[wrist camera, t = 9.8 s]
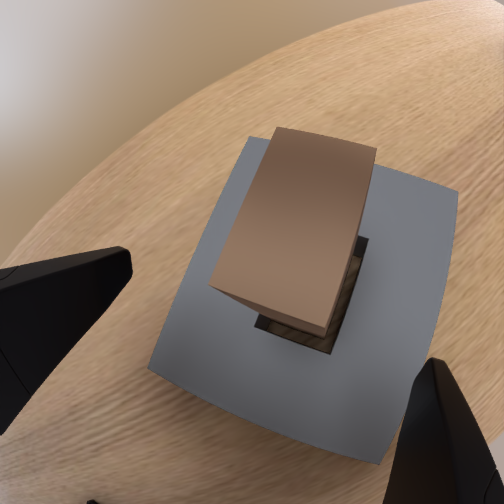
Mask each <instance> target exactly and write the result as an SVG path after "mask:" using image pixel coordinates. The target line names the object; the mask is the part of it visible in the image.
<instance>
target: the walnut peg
mask: <svg viewBox="0 0 504 504" xmlns="http://www.w3.org/2000/svg"><path fill="white" fill-rule="evenodd" d="M376 150H377V148H373V147H370V146H366V145H362V144H358V143H354V142H350V141H346V140H342V139H337V138H333V137H328V136H324V135H319V134H314V133H309V132H304V131H299V130H293V129H288V128H282V127H277V128H276V130H275V132H274V134H273V136H272V138H271V141H270V143H269V145H268V147H267V149H266V152H265V154H264V156H263V158H262V160H261V163H260V165H259V167H258V169H257V172H256V174H255V176H254V178H253V181H252V183H251V185H250V187H249V190H248V192H247V194H246V196H245V199H244V201H243V203H242V205H241V208H240V210H239V212H238V215H237V217H236V219H235V222H234V224H233V226H232V229H231V231H230V233H229V235H228V238H227V240H226V243H225V245H224V247H223V250H222V252H221V254H220V257H219V259H218V261H217V264H216V266H215V269H214V271H213V273H212V276H211V278H210V281H209V283H208V285H209V286H211V287H213V288H214V289H216V290H218V291H220V292H222V293H223V294H225V295H227V296H229V297H231V298H232V299H234V300H236V301H238V302H240V303H241V304H243V305H245V306H247V307H249V308H251V309H252V310H254V311H256V312H258V313H260V314H262V315H264V316H265V317H267V318H269V319H271V320H273V321H275V322H277V323H279V324H281V325H284V326H287V327H289V328H292V329H295V330H298V331H301V332H303V333H306V334H309V335H312V336H315V337H318V338H321V339H323V340H324V339H325V336H326V334H327V331H328V328H329V326H330V323H331V320H332V317H333V314H334V312H335V309H336V306H337V303H338V300H339V297H340V294H341V291H342V288H343V285H344V282H345V279H346V276H347V272H348V269H349V266H350V263H351V259H352V255H353V252H354V248H355V244H356V240H357V237H358V233H359V229H360V225H361V221H362V216H363V212H364V208H365V204H366V199H367V195H368V190H369V186H370V181H371V176H372V171H373V166H374V161H375V156H376Z"/></svg>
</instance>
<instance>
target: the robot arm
mask: <svg viewBox="0 0 504 504" xmlns="http://www.w3.org/2000/svg"><path fill="white" fill-rule="evenodd" d="M132 275H133V269H132V262H131V254H130V252H129V250H127V249H125V248H123V247H120V246H116V247H110V248H105V249H100V250H94V251H89V252H84V253H79V254H73V255H68V256H63V257H58V258H53V259H48V260H43V261H38V262H34V263H29V264H24V265H20V266H14V267H10V268H5V269H0V436H1V435H2V434H3V433H4V432H5V431H6V430H7V428H8V427H9V426H10V424H11V423H12V422H13V420H14V419H15V418H16V416H17V415H18V414H19V412H20V411H21V410H22V409H23V407H24V406H25V405H26V403H27V402H28V401H29V400H30V398H31V397H32V396H33V394H34V393H35V392H36V391H37V389H38V388H39V387H40V386H41V385H42V383H43V382H44V381H45V380H46V378H47V377H48V376H49V375H50V374H51V372H52V371H53V370H54V369H55V368H56V367H57V365H58V364H59V363H60V362H61V361H62V360H63V358H64V357H65V356H66V355H67V354H68V353H69V351H70V350H71V349H72V348H73V347H74V346H75V345H76V343H77V342H78V341H79V340H80V339H81V338H82V337H83V336H84V334H85V333H86V332H87V331H88V330H89V329H90V328H91V327H92V326H93V325H94V323H95V322H96V321H97V320H98V319H99V318H100V317H101V316H102V315H103V314H104V312H105V311H106V310H107V309H108V307H109V306H110V305H111V304H112V302H113V301H114V300H115V298H116V297H117V296H118V295H119V293H120V292H121V291H122V289H123V288H124V287H125V286H126V284H127V283H128V282H129V281H130V279H131V277H132ZM87 504H97V503H96V502H95V501H93V500H89V501H87ZM382 504H504V485H503V483H502V480H501V477H500V474H499V472H498V470H497V469H496V465H495V462H494V460H493V457H492V455H491V453H490V450H489V448H488V445H487V443H486V441H485V439H484V436H483V434H482V432H481V430H480V428H479V426H478V423H477V421H476V419H475V417H474V415H473V413H472V411H471V409H470V407H469V405H468V403H467V401H466V399H465V397H464V395H463V393H462V392H461V390H460V388H459V386H458V384H457V382H456V380H455V379H454V377H453V375H452V373H451V371H450V370H449V368H448V366H447V364H446V363H445V361H443V360H440V359H437V358H433V357H432V358H429V359H428V360H427V362H426V363H425V365H424V366H423V367H422V369H421V370H420V372H419V373H418V375H417V376H416V378H415V379H414V382H413V384H412V388H411V393H410V397H409V401H408V405H407V409H406V412H405V416H404V420H403V423H402V427H401V430H400V434H399V438H398V443H397V447H396V452H395V457H394V461H393V466H392V470H391V474H390V478H389V482H388V486H387V490H386V493H385V497H384V500H383V503H382Z"/></svg>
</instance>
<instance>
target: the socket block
mask: <svg viewBox="0 0 504 504" xmlns="http://www.w3.org/2000/svg"><path fill="white" fill-rule="evenodd" d="M270 141H271V140H268V139H263V138H257V137H251V136H249V138H248V140H247V142H246V144H245V146H244V148H243V150H242V152H241V154H240V156H239V158H238V160H237V162H236V164H235V166H234V168H233V170H232V172H231V174H230V176H229V179H228V181H227V183H226V185H225V187H224V189H223V191H222V193H221V195H220V197H219V200H218V202H217V204H216V206H215V208H214V210H213V212H212V215H211V217H210V219H209V221H208V223H207V225H206V228H205V230H204V232H203V234H202V236H201V239H200V241H199V243H198V245H197V248H196V250H195V252H194V254H193V257H192V259H191V261H190V264H189V266H188V268H187V271H186V273H185V275H184V278H183V280H182V282H181V285H180V287H179V289H178V292H177V294H176V297H175V299H174V301H173V304H172V306H171V309H170V311H169V314H168V316H167V319H166V321H165V323H164V326H163V329H162V331H161V334H160V336H159V339H158V341H157V344H156V346H155V349H154V351H153V354H152V357H151V359H150V362H149V365H148V367H147V368H148V369H149V370H151V371H153V372H154V373H156V374H158V375H159V376H161V377H163V378H164V379H166V380H168V381H170V382H171V383H173V384H175V385H177V386H179V387H180V388H182V389H184V390H186V391H188V392H190V393H191V394H193V395H195V396H197V397H199V398H201V399H203V400H205V401H207V402H209V403H211V404H213V405H215V406H217V407H219V408H221V409H223V410H225V411H227V412H229V413H232V414H234V415H236V416H238V417H240V418H243V419H245V420H247V421H249V422H252V423H254V424H256V425H259V426H261V427H263V428H266V429H268V430H271V431H273V432H276V433H278V434H281V435H283V436H286V437H289V438H291V439H294V440H297V441H300V442H303V443H305V444H308V445H311V446H314V447H317V448H320V449H323V450H327V451H330V452H333V453H336V454H340V455H343V456H347V457H350V458H354V459H357V460H361V461H365V462H369V463H373V464H377V465H379V464H380V463H381V461H382V459H383V457H384V455H385V453H386V451H387V449H388V448H389V446H390V444H391V442H392V440H393V438H394V435H395V433H396V431H397V429H398V427H399V425H400V423H401V420H402V418H403V416H404V414H405V411H406V409H407V405H408V401H409V397H410V393H411V388H412V384H413V382H414V379H415V378H416V376H417V375H418V373H419V372H420V370H421V369H422V367H423V365H424V362H425V359H426V356H427V353H428V350H429V347H430V343H431V340H432V337H433V333H434V330H435V326H436V323H437V319H438V315H439V311H440V307H441V303H442V299H443V295H444V290H445V285H446V281H447V276H448V270H449V265H450V259H451V253H452V247H453V240H454V232H455V224H456V215H457V204H458V191H455V190H452V189H450V188H447V187H444V186H442V185H439V184H436V183H433V182H430V181H428V180H425V179H422V178H419V177H416V176H413V175H410V174H406V173H403V172H400V171H397V170H394V169H390V168H387V167H384V166H380V165H377V164H374V166H373V171H372V176H371V181H370V186H369V190H368V195H367V199H366V204H365V208H364V212H363V216H362V221H361V225H360V229H359V233H358V237H357V240H356V244H355V248H354V252H353V255H356V256H359V257H362V260H361V263H360V266H359V270H358V273H357V276H356V279H355V283H354V286H353V289H352V292H351V295H350V298H349V301H348V304H347V307H346V310H345V313H344V316H343V318H342V321H341V324H340V327H339V329H338V332H337V335H336V338H335V340H334V343H333V346H332V348H331V351H330V353H326V352H323V351H320V350H317V349H314V348H312V347H309V346H306V345H303V344H300V343H298V342H295V341H292V340H290V339H287V338H284V337H282V336H279V335H276V334H274V333H271V332H268V331H266V330H267V328H268V325H269V323H270V320H271V319H269V318H267V317H265V316H264V315H262V314H260V313H258V312H256V311H254V310H252V309H251V308H249V307H247V306H245V305H243V304H241V303H240V302H238V301H236V300H234V299H232V298H231V297H229V296H227V295H225V294H223V293H222V292H220V291H218V290H216V289H214V288H213V287H211V286H209V285H208V283H209V281H210V278H211V276H212V273H213V271H214V269H215V266H216V264H217V261H218V259H219V257H220V254H221V252H222V250H223V247H224V245H225V243H226V240H227V238H228V235H229V233H230V231H231V229H232V226H233V224H234V222H235V219H236V217H237V215H238V212H239V210H240V208H241V205H242V203H243V201H244V199H245V196H246V194H247V192H248V190H249V187H250V185H251V183H252V181H253V178H254V176H255V174H256V172H257V169H258V167H259V165H260V163H261V160H262V158H263V156H264V154H265V152H266V149H267V147H268V145H269V143H270Z"/></svg>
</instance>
